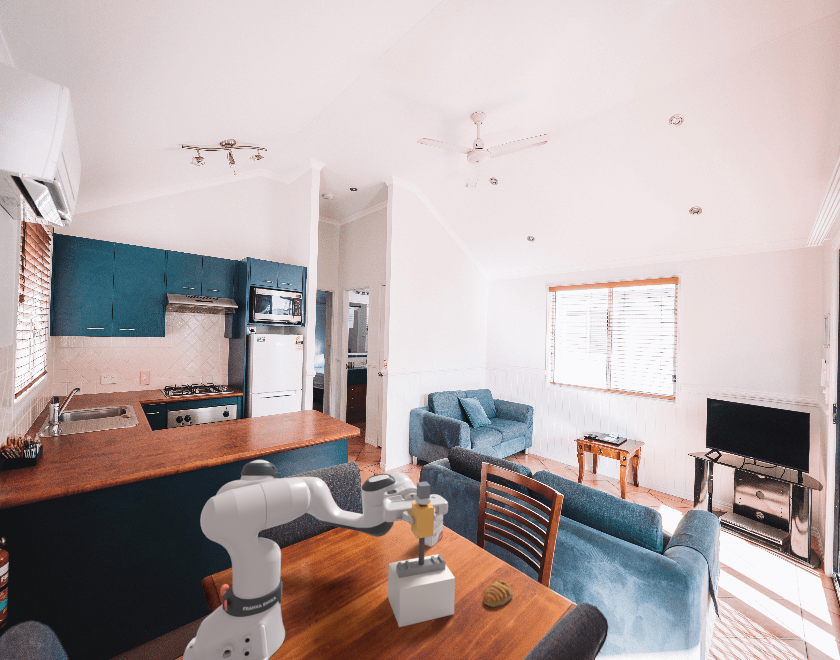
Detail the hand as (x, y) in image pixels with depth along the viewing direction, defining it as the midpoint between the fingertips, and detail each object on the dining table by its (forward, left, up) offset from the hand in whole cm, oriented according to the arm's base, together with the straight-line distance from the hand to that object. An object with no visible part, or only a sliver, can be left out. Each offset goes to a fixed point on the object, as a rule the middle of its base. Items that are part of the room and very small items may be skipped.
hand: (423, 520), depth 108 cm
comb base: (0, +1, -25) cm, 25 cm away
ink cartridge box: (+21, +29, -25) cm, 44 cm away
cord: (0, +1, -15) cm, 15 cm away
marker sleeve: (0, +1, -4) cm, 4 cm away
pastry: (+22, -7, -25) cm, 35 cm away
